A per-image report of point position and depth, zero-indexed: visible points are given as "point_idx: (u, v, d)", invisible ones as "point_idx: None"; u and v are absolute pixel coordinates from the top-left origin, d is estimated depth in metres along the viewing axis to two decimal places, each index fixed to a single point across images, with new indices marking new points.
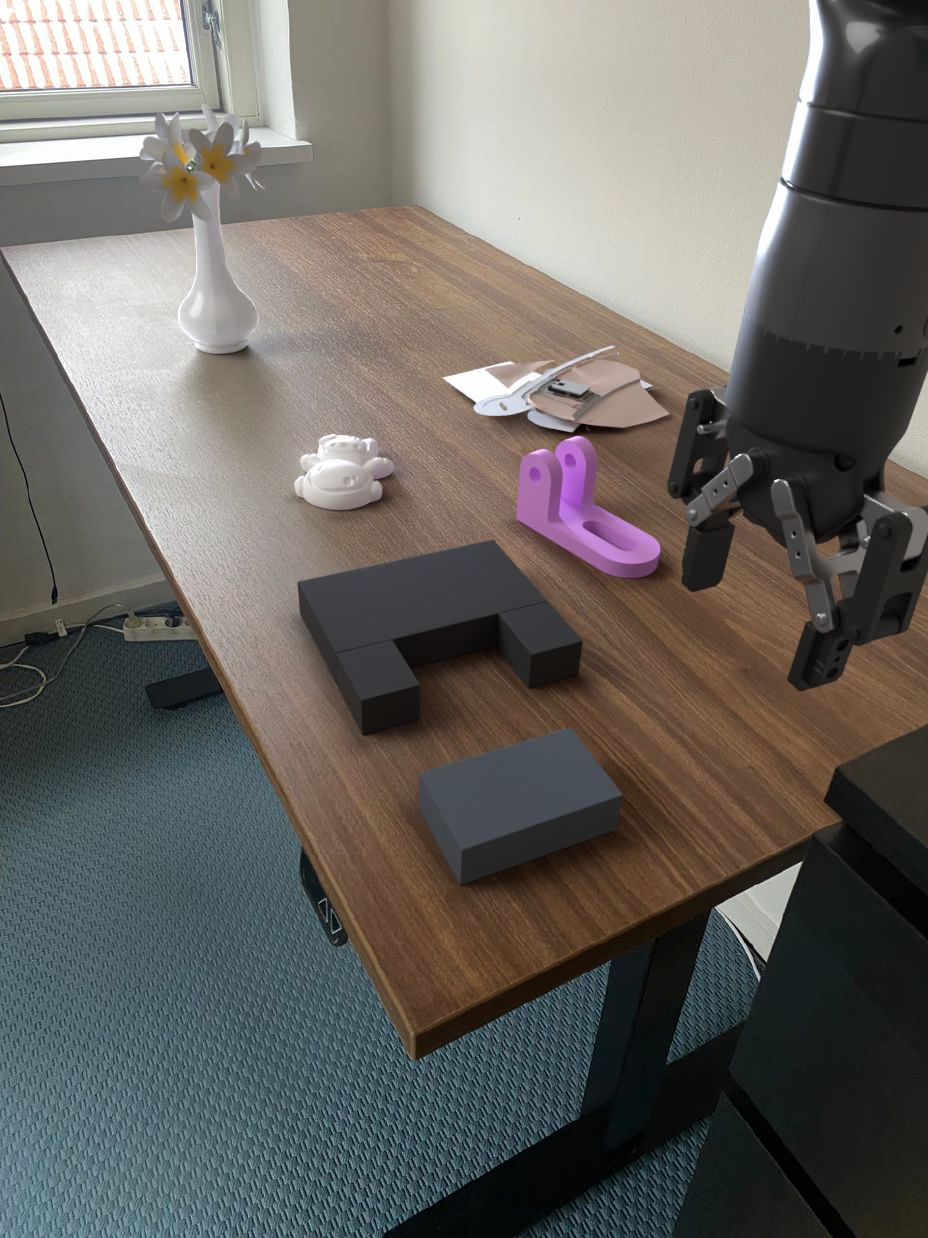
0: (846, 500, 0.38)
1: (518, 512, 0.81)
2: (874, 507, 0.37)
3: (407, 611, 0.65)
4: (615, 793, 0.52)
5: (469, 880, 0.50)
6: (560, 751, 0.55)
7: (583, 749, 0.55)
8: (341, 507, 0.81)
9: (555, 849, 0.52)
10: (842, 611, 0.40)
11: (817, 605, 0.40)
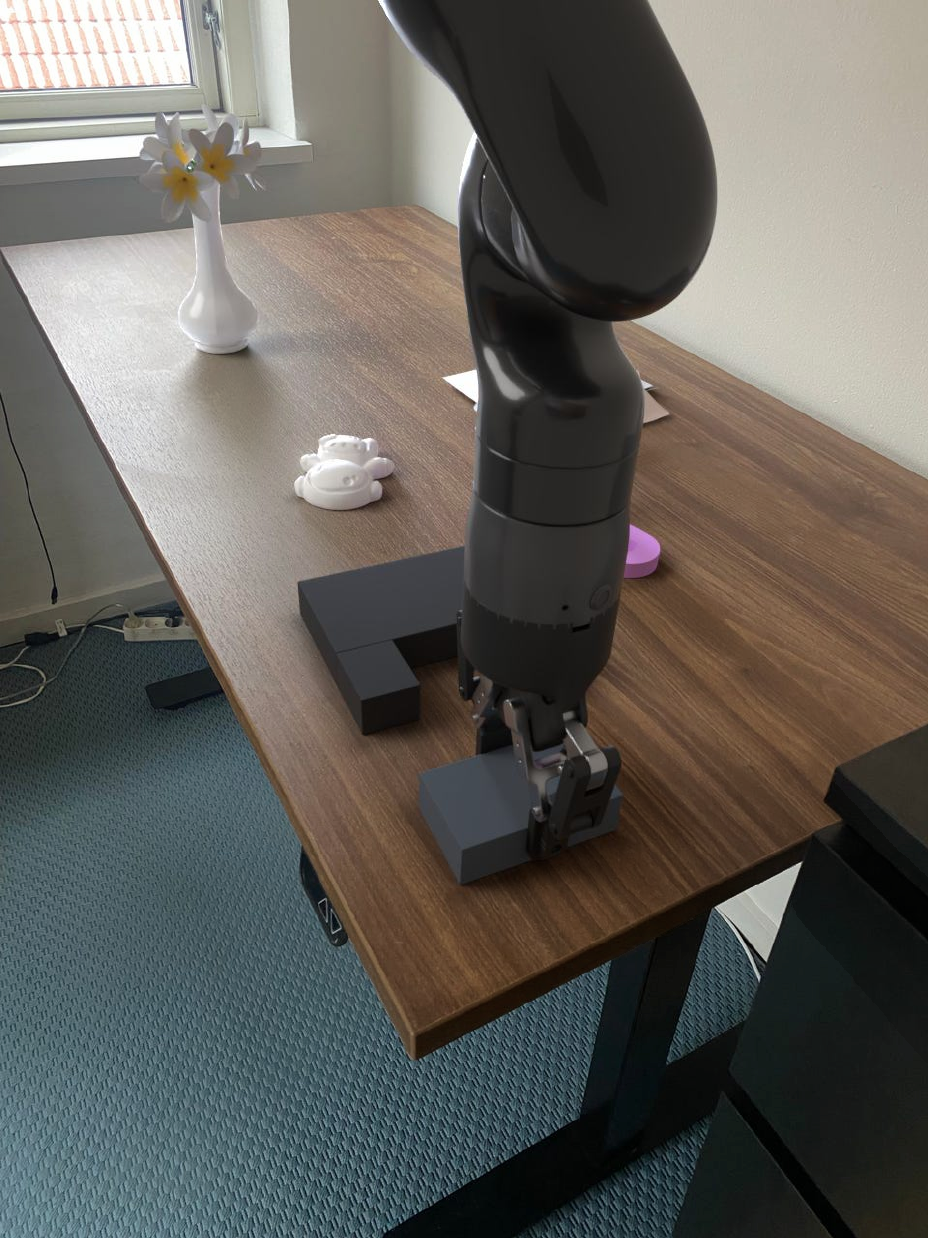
0: (551, 730, 0.44)
1: None
2: (571, 742, 0.44)
3: (407, 611, 0.65)
4: (616, 793, 0.52)
5: (469, 880, 0.50)
6: None
7: None
8: (341, 507, 0.81)
9: None
10: (550, 806, 0.47)
11: (534, 800, 0.48)
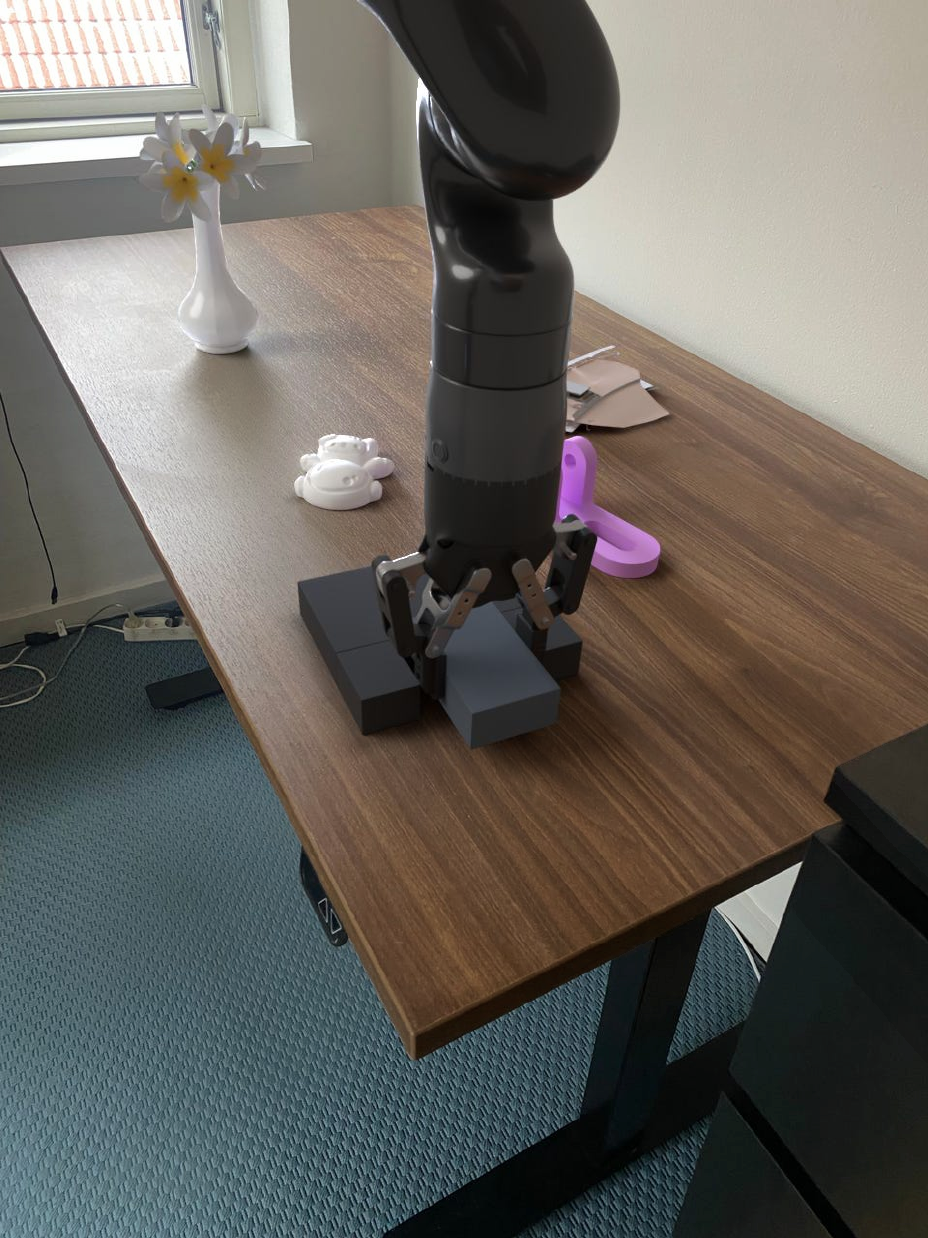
0: None
1: None
2: None
3: None
4: (474, 709, 0.55)
5: (411, 656, 0.63)
6: (525, 679, 0.57)
7: (529, 693, 0.56)
8: (341, 507, 0.81)
9: (443, 705, 0.59)
10: None
11: None
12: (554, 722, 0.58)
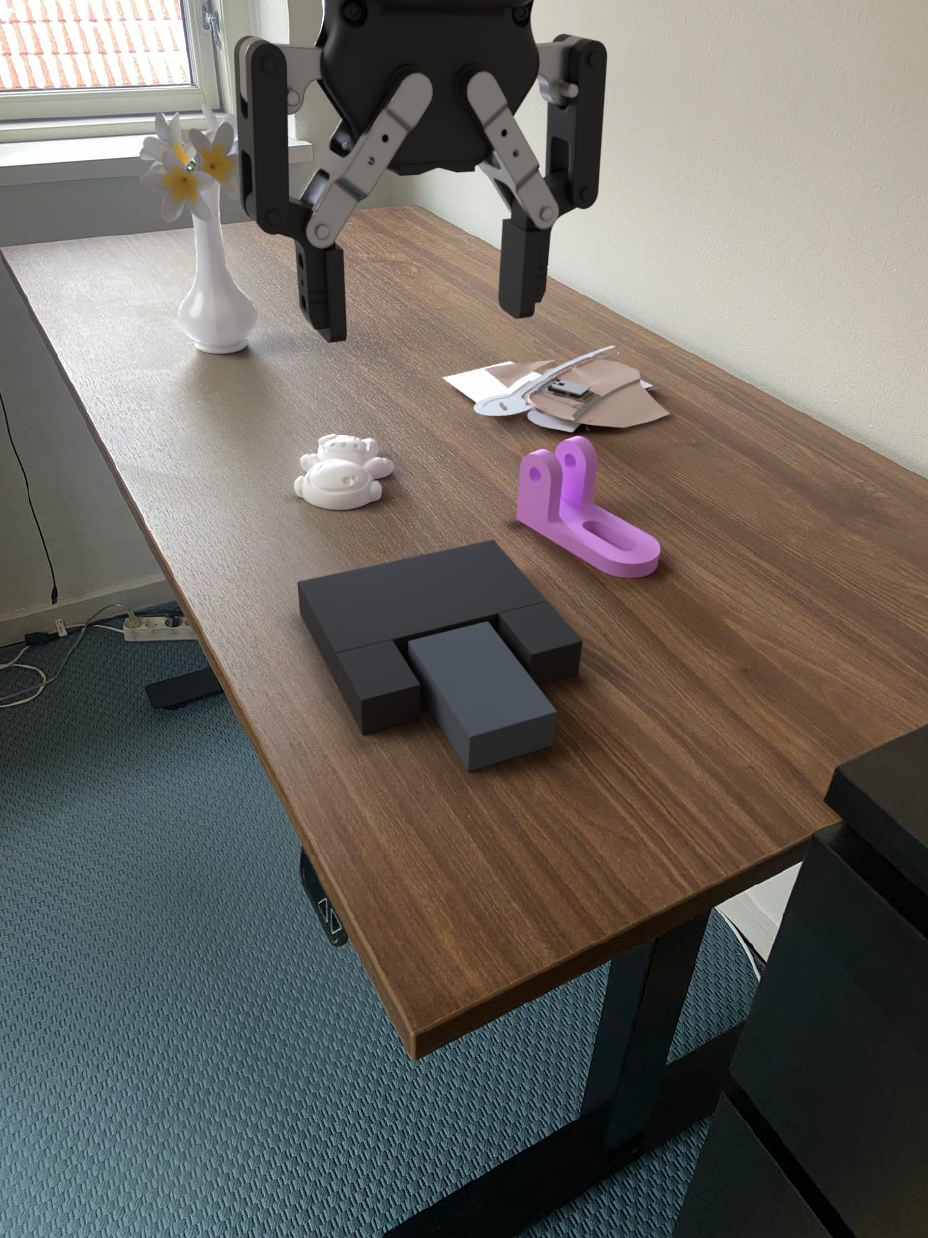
0: None
1: (518, 512, 0.81)
2: None
3: (407, 611, 0.65)
4: (471, 732, 0.56)
5: None
6: (522, 702, 0.58)
7: (526, 717, 0.57)
8: (341, 507, 0.81)
9: (441, 726, 0.60)
10: None
11: None
12: (551, 744, 0.59)
